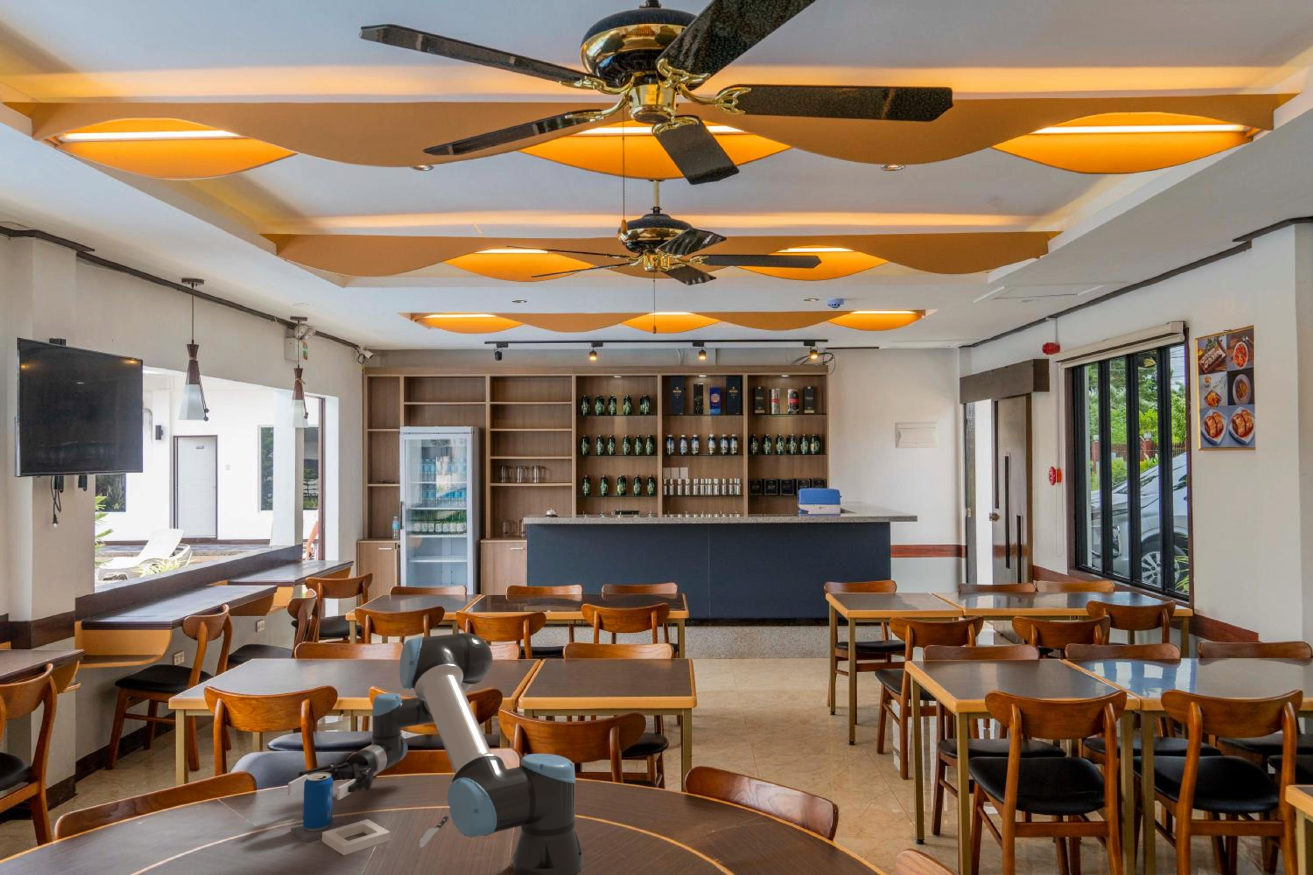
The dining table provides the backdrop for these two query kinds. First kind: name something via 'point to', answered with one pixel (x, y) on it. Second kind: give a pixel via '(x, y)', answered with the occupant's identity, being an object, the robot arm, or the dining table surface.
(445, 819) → the chef's knife
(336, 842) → the can holder
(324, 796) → the beverage can
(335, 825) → the coaster
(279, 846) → the dining table surface
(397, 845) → the dining table surface
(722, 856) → the dining table surface
